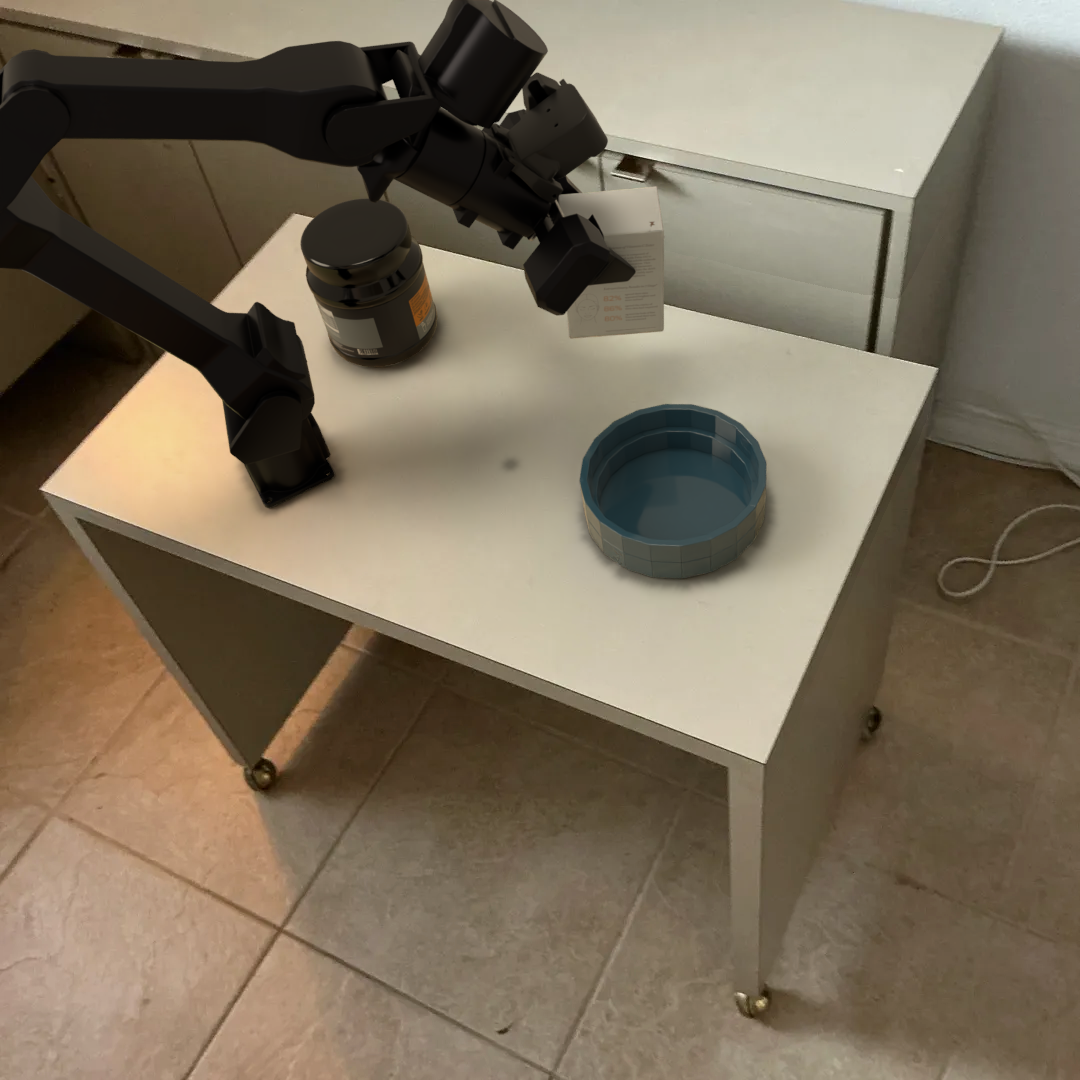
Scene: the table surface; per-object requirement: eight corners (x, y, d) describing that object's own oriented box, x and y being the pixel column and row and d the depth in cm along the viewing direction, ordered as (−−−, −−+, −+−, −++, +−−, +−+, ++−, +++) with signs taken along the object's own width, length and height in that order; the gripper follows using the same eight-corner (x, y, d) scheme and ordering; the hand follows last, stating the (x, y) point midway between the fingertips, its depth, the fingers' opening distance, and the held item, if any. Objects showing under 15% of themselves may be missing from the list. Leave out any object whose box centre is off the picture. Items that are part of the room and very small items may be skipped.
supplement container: (453, 299, 108) (427, 195, 99) (422, 377, 103) (391, 274, 93) (352, 293, 111) (318, 191, 101) (316, 369, 105) (276, 267, 96)
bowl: (644, 610, 84) (640, 576, 81) (555, 488, 93) (548, 453, 89) (801, 527, 87) (804, 490, 84) (701, 416, 95) (700, 378, 92)
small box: (658, 288, 96) (660, 184, 87) (664, 334, 93) (666, 229, 84) (565, 295, 96) (557, 191, 88) (567, 340, 93) (559, 237, 84)
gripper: (567, 146, 70) (731, 242, 80) (493, 8, 81) (645, 106, 91) (467, 278, 76) (631, 353, 85) (411, 132, 87) (562, 213, 97)
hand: (618, 250), depth 89 cm, fingers closed on small box, 6 cm apart
